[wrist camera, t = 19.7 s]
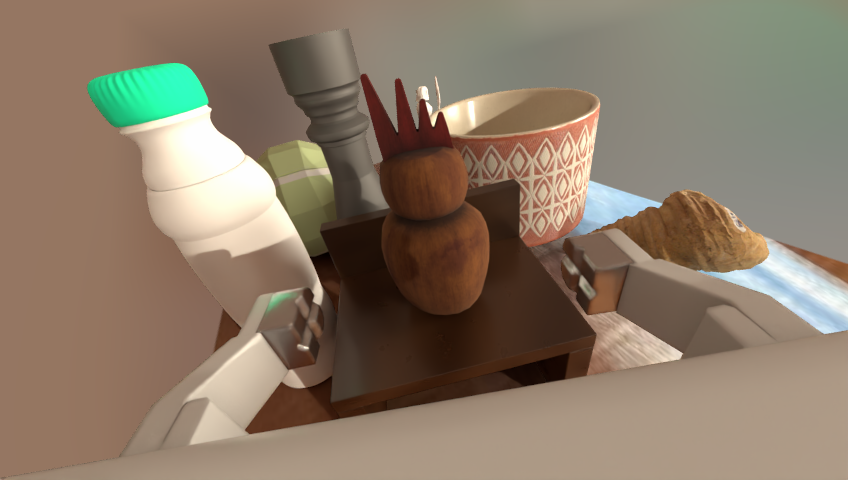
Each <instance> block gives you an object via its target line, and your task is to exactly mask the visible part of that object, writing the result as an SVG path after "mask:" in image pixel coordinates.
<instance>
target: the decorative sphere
mask: <svg viewBox="0 0 848 480" xmlns="http://www.w3.org/2000/svg"><path fill="white" fill-rule="evenodd" d="M256 163H258V164H259V165H260V166H261V167H262V168H263V169H264V170H265V171H266V172H267V173H268V174H269V176H270V177H271V179H272V181H273V183H274V186H275V190H276V197H277V198H278V200H279V201H280V203H281V204H282V206H283V207H284V209H285V211H286V212H287V214H288V216H289V218H290V219H291V221H292V223H293V225H294V227H295V229H296V230H297V232H298V234H299V236H300V238H301V240H302V242H303V244H304V246H305V248H306V250H307V252H308V254H309V256H313V257H316V256H318V255H321V254H324V253H326V252H329V251H328V249H327V247H326V245H325V242H324V240H323V238H322V236H321V233H320V228H321V224H322V223H326V222H331V221H335V220H337V215H336V206H335V198H334V190H333V182H332V177H331V174H330V171H329V168H328V166H327V163H326V160H325V158H324V155H323V152H322V150H321V147H319V146H318V145H317V144H313V143H308V142H304V141H299V140H295V141H292V142H289V143H285V144H281V145H278V146H274V147H271V148H268V149H267V150H266V151H265V152H264V153H263V154H262V155H261V156H260V157H259V159H258V160H257V161H256Z"/></svg>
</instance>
